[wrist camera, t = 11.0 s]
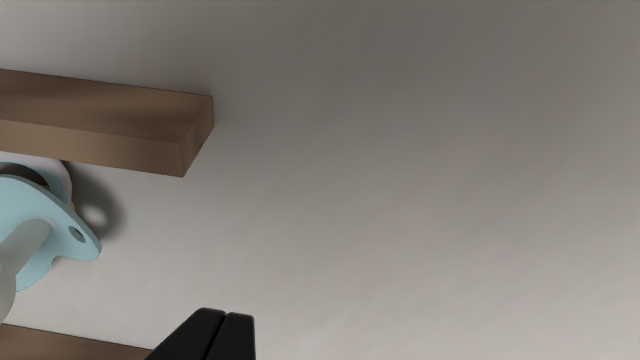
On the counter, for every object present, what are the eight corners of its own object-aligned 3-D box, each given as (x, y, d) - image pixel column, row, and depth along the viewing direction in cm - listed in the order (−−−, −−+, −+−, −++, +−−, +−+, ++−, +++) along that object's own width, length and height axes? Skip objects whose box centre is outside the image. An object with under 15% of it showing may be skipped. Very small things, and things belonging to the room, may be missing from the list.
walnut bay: (211, 88, 19) (178, 135, 17) (229, 383, 29) (210, 440, 26) (-203, 35, 21) (-287, 71, 19) (-57, 331, 30) (-100, 380, 28)
